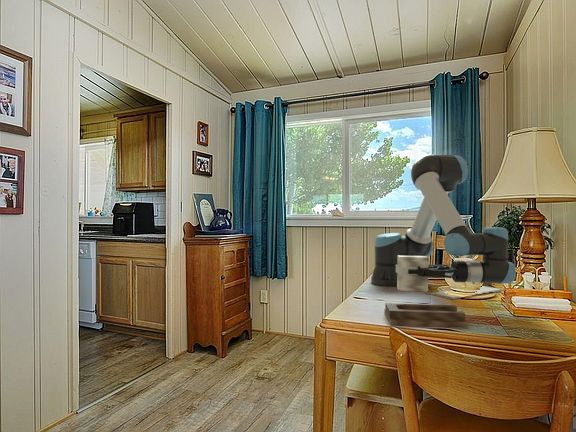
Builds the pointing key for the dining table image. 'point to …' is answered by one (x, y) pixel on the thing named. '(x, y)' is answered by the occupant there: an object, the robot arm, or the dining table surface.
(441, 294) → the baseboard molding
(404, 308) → the groove board
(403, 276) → the pale grey rectangular block
